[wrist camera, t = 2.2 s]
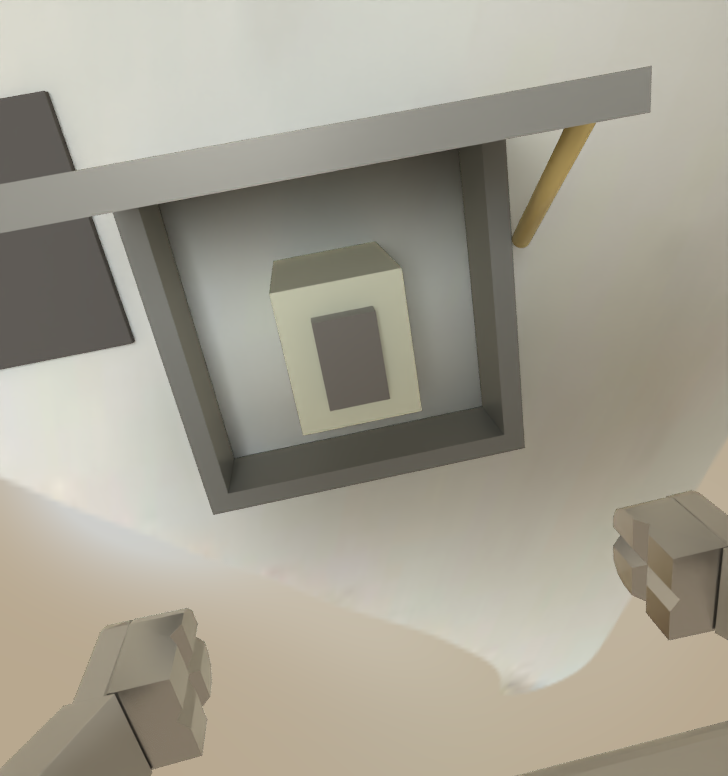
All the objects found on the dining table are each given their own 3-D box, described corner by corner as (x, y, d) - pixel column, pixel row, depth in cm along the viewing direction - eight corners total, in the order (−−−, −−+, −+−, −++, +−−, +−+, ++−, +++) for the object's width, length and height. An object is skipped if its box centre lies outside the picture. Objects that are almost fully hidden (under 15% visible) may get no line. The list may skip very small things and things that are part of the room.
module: (375, 241, 28) (405, 272, 20) (393, 355, 30) (426, 419, 23) (273, 260, 27) (268, 299, 20) (299, 374, 30) (303, 444, 22)
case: (493, 104, 26) (684, 60, 13) (514, 415, 32) (657, 580, 20) (124, 172, 25) (-36, 191, 13) (220, 477, 31) (177, 690, 19)
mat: (47, 92, 23) (44, 91, 23) (134, 340, 28) (132, 343, 27) (-150, 126, 23) (-157, 126, 23) (-31, 373, 27) (-35, 376, 27)
